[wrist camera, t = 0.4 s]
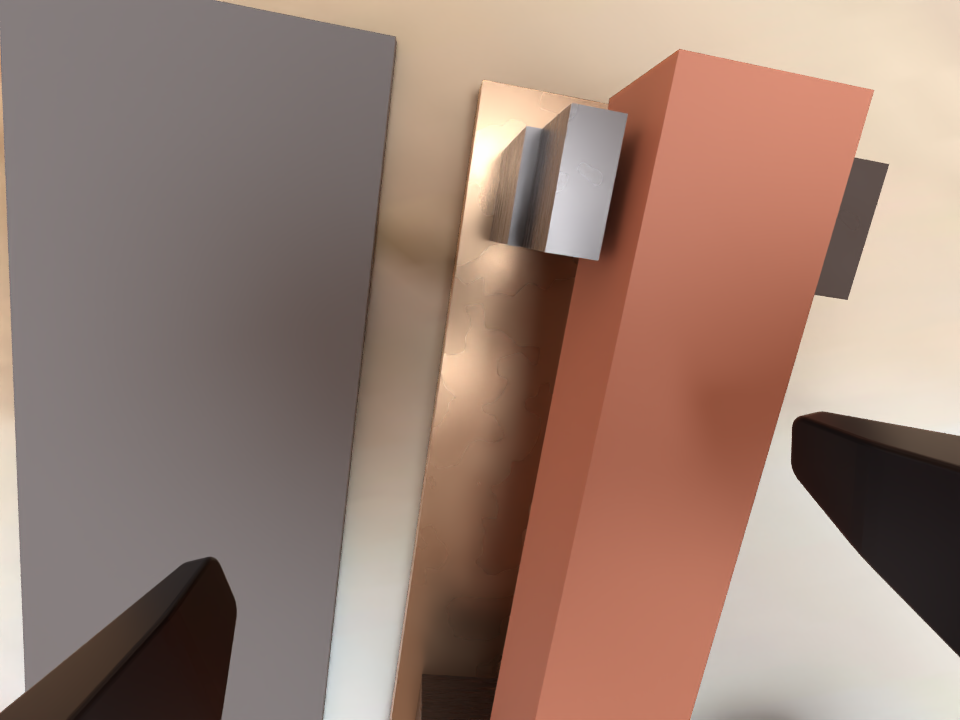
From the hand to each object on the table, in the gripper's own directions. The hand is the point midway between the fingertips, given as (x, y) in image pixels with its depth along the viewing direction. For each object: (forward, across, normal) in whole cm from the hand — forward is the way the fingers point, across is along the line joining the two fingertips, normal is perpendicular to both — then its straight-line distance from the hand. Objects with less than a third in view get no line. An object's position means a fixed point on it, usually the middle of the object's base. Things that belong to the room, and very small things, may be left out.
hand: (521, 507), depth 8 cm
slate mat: (+14, +10, +3) cm, 17 cm away
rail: (+6, -2, +7) cm, 10 cm away
